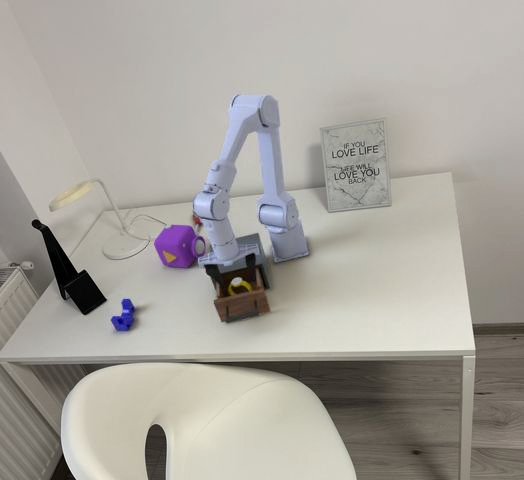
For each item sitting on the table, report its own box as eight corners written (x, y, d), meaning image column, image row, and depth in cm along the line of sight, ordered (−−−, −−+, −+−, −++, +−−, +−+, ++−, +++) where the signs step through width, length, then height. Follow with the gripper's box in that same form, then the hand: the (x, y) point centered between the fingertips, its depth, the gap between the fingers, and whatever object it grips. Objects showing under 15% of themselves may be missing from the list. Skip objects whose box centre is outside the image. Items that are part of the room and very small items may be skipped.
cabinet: (270, 288, 142) (262, 263, 136) (219, 300, 143) (209, 276, 137) (265, 257, 152) (258, 232, 146) (218, 268, 153) (209, 244, 147)
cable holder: (128, 331, 143) (121, 320, 140) (116, 330, 144) (110, 320, 141) (140, 309, 148) (134, 298, 145) (129, 309, 149) (123, 298, 147)
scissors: (210, 211, 176) (209, 209, 175) (201, 237, 166) (200, 235, 165) (194, 213, 177) (193, 211, 177) (185, 239, 167) (184, 237, 167)
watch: (256, 294, 138) (250, 277, 134) (253, 302, 136) (247, 284, 132) (234, 294, 140) (227, 277, 136) (230, 302, 138) (224, 284, 134)
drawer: (272, 325, 130) (265, 305, 126) (222, 336, 132) (213, 317, 127) (266, 279, 143) (260, 259, 139) (220, 290, 145) (213, 270, 140)
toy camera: (205, 269, 154) (193, 241, 148) (161, 272, 158) (148, 245, 152) (214, 245, 162) (203, 217, 155) (172, 248, 166) (160, 221, 159)
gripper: (191, 256, 123) (209, 299, 132) (253, 240, 122) (267, 285, 131) (192, 238, 129) (209, 280, 138) (251, 223, 127) (265, 267, 136)
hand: (237, 282), depth 135 cm, fingers open, 7 cm apart
